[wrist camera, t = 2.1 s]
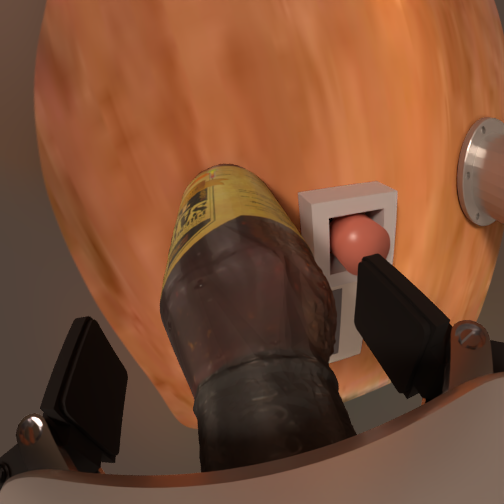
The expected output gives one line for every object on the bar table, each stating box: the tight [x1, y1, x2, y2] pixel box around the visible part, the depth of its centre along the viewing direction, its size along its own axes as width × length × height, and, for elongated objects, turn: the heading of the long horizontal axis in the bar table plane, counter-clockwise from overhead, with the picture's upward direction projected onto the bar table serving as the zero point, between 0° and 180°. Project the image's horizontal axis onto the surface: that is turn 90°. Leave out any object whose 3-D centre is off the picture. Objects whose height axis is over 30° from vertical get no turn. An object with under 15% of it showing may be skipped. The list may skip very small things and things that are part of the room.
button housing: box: [298, 181, 397, 288], centre depth 22 cm, size 7×7×3 cm
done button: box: [329, 212, 390, 276], centre depth 20 cm, size 4×4×3 cm
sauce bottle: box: [160, 164, 357, 473], centre depth 12 cm, size 7×6×20 cm
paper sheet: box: [329, 281, 363, 363], centre depth 27 cm, size 14×12×1 cm
